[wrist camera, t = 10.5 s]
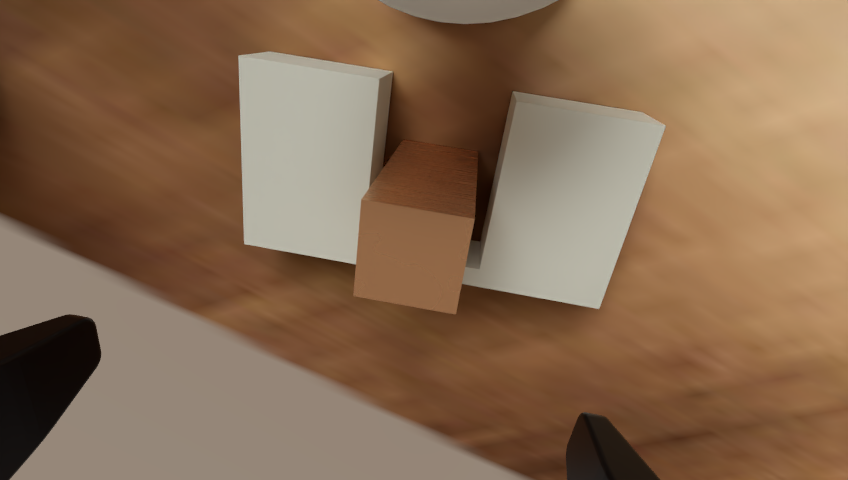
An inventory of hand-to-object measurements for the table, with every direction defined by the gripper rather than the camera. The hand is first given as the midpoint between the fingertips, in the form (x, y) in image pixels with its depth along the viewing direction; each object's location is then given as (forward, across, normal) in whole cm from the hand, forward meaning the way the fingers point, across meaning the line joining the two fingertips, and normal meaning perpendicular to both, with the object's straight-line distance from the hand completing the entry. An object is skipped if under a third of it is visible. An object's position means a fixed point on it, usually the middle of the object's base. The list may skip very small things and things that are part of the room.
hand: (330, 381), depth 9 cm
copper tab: (+12, -1, 0) cm, 12 cm away
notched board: (+12, -1, -1) cm, 12 cm away
